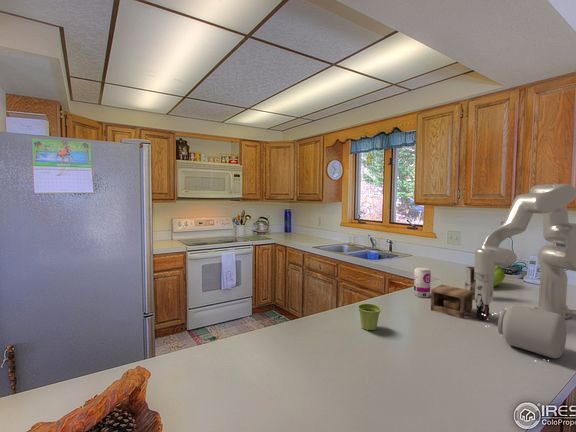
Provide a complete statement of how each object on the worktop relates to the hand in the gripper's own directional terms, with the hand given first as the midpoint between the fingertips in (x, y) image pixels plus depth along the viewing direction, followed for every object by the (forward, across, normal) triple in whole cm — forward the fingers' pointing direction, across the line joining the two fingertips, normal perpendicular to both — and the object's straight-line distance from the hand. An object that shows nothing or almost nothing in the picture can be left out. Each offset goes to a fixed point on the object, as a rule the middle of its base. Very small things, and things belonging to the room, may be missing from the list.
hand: (482, 316), depth 136 cm
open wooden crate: (+1, 0, +13) cm, 13 cm away
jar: (+1, -20, -16) cm, 26 cm away
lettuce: (+1, +58, +14) cm, 60 cm away
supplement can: (+1, +12, +32) cm, 35 cm away
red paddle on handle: (+1, 0, +7) cm, 7 cm away
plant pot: (+1, -45, +28) cm, 53 cm away
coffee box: (+1, +30, +12) cm, 32 cm away
